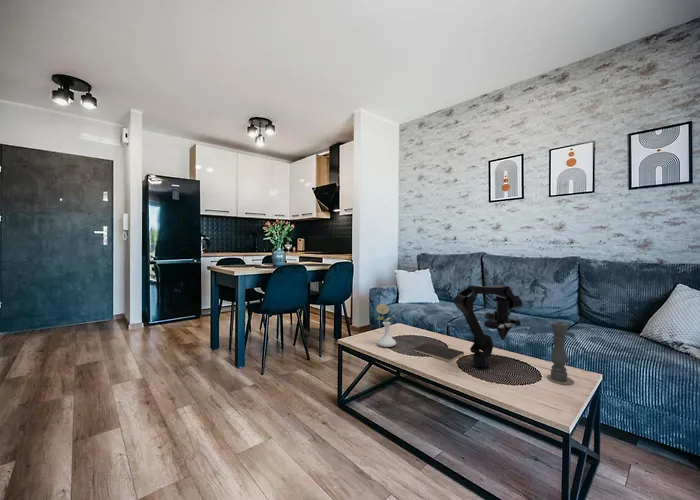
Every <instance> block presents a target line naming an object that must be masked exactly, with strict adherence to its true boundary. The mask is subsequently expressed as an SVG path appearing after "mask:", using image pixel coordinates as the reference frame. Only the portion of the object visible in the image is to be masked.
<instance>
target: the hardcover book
mask: <svg viewBox="0 0 700 500" xmlns="http://www.w3.org/2000/svg"><path fill="white" fill-rule="evenodd" d="M412 350H413V352H414V351H415V353H417V352H419V353H418V354H421V353H422V354H421V355H424V354H425V355H424V356H427V355H429V357H431V356H432V358H434V357H435V358H434V359H437V358H438V359H437V360H441V361H444V362H447V363H450V362H452V361H454V360H456V359H458V358H460V357H462V356H464V355H465V352H464V351H462V350H457V349H456V348H455V349H453V348H449V347H446V346H443V345H439V344H435V343H431V342H425V343H423V344H420V345H418V346H415V347H413V348H412Z"/></svg>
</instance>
